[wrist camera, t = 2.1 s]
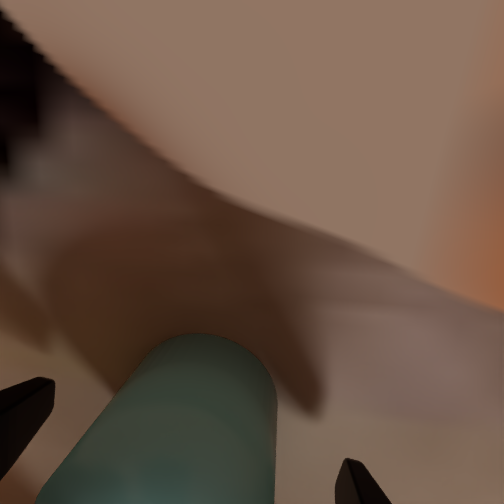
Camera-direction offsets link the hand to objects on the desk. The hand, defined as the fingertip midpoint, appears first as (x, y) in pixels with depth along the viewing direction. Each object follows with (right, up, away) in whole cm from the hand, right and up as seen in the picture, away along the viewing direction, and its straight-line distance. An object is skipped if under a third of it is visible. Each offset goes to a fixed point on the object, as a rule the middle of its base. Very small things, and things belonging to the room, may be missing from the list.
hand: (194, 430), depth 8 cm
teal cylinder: (0, 0, +1) cm, 1 cm away
